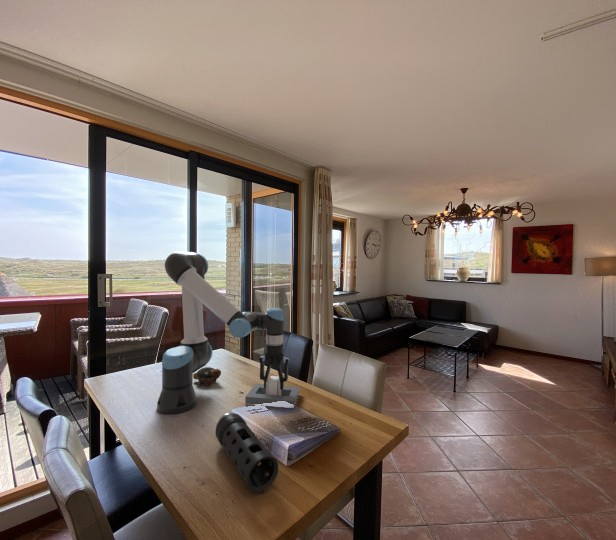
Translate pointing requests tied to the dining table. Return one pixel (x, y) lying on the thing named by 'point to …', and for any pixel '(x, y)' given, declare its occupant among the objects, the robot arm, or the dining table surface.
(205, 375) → the decorative turtle
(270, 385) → the plug
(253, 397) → the block
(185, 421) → the dining table surface
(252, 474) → the muzzle brake
